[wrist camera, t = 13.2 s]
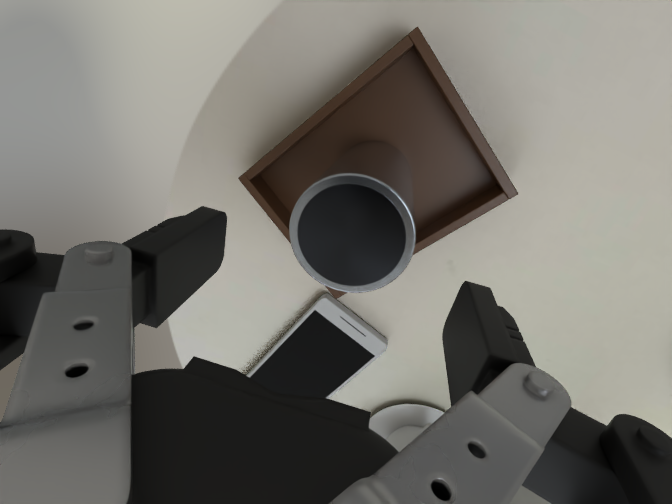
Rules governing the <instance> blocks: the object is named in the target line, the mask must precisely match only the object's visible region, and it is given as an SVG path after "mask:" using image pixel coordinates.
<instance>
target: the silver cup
mask: <svg viewBox="0 0 672 504" xmlns="http://www.w3.org/2000/svg"><path fill="white" fill-rule="evenodd" d="M289 236H290V242H291V245H292V249H293V252H294V254H295V256H296V258H297V260H298V261H299V263H300V265H301V266H302V267H303V268H304V270H305V271H306V272H307V273H308V274H309V275H310V276H312V277H313V278H314V279H315V280H317V281H318V282H320V283H321V284H323V285H325V286H327V287H329V288H332V289H335V290H338V291H343V292H350V293H361V292H368V291H372V290H376V289H379V288H381V287H383V286H385V285H387V284H389V283H390V282H392V281H393V280H395V279H396V278H397V277H398V276H399V275H400V274H401V273H402V272H403V271H404V269H405V268H406V267H407V265H408V263H409V262H410V260H411V257H412V255H413V252H414V248H415V243H416V225H415V211H414V196H413V182H412V172H411V168H410V165H409V163H408V160H407V159H406V157H405V156H404V155H403V153H402V152H401V151H400V150H398V149H397V148H396V147H394V146H393V145H391V144H389V143H386V142H383V141H378V140H370V141H364V142H360V143H358V144H356V145H354V146H352V147H351V148H349V149H348V150H347V151H346V152H345V153H344V154H343V155H342V156H341V157H340V158H339V159H338V160H337V161H336V162H335V163H333V164H332V165H331V166H330V167H329V168H328V169H327V170H326V171H325V172H324V173H323V174H322V175H321V176H320V177H319V178H318V179H317V180H316V181H315V182H314V183H313V184H312V185H311V186H310V187H309V188H308V189H307V190H306V191H305V192H304V193H303V194H302V195H301V196H300V198H299V199H298V201H297V202H296V204H295V206H294V209H293V211H292V214H291V218H290V225H289Z"/></svg>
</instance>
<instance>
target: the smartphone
mask: <svg viewBox="0 0 672 504" xmlns="http://www.w3.org/2000/svg"><path fill="white" fill-rule="evenodd" d="M387 345H388V340H387V339H386V338H384V337H383V336H382V335H381V334H379V333H378V332H377V331H376V330H374V329H373V328H372V327H370V326H369V325H368V324H367V323H365V322H364V321H363V320H361V319H360V318H359V317H358V316H356V315H355V314H354V313H353V312H351V311H350V310H349V309H347V308H346V307H345V306H344V305H342V304H341V303H340V302H338V301H337V300H336V299H335V298H333V297H332V296H331V295H329V294H328V293H326V294H323V295H322V296H321V297H320V298H319V299H318V300H317V301H316V302H315V303H314V304H313V305H312V306H311V307H310V308H309V309H308V310H307V311H306V313H305V314H304V315H303V316H302V317H301V318H300V319H299V320H298V321H297V322H296V323H295V324H294V325H293V326H292V327H291V328H290V329H289V330H288V331H287V333H286V334H285V335H284V336H283V337H282V338H281V339H280V340H279V341H278V342H277V343H276V344H275V345H274V346H273V347H272V348H271V349H270V350H269V352H268V353H267V354H266V355H265V356H264V357H263V358H262V359H261V360H260V361H259V362H258V363H257V364H256V365H255V366H254V367H253V368H252V369H251V371H250V372H249V373H248V374H247V375H246V376H247V377H249V378H251V379H253V380H254V381H256V382H258V383H259V384H261V385H263V386H264V387H266V388H268V389H270V390H271V391H273V392H275V393H279V394H287V395H298V396H308V397H319V398H327V399H329V398H330V397H331V396H332V395H334V394H335V393H336V392H337V391H338V390H340V389H341V388H342V387H343V386H344V385H345V384H347V383H348V382H349V381H350V380H351V379H353V378H354V377H355V376H356V375H357V374H359V373H360V372H361V371H362V370H363V369H365V368H366V367H367V366H368V365H369V364H370V363H372V362H373V361H374V360H375V359H376V358H378V357H379V356H380V355H381V354H382V353H384V352H385V351H386V349H387Z"/></svg>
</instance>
